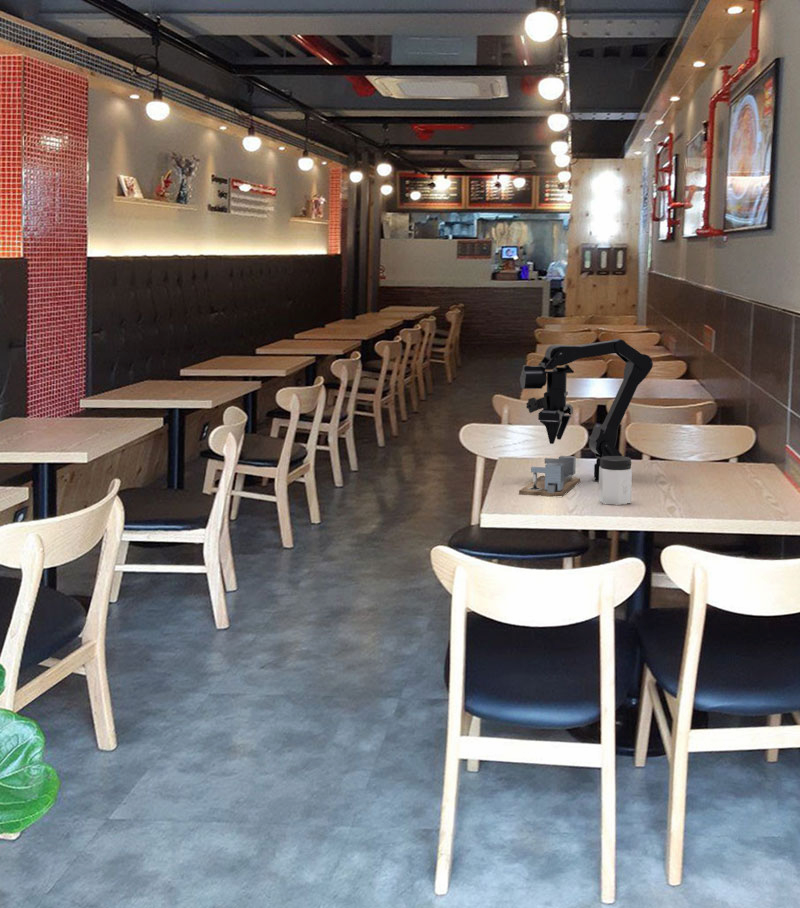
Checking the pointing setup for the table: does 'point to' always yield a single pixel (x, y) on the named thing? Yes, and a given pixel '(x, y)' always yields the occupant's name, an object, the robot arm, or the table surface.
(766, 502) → the table surface
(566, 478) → the beam
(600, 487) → the jar
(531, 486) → the hole plate
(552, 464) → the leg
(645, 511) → the table surface
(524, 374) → the robot arm
